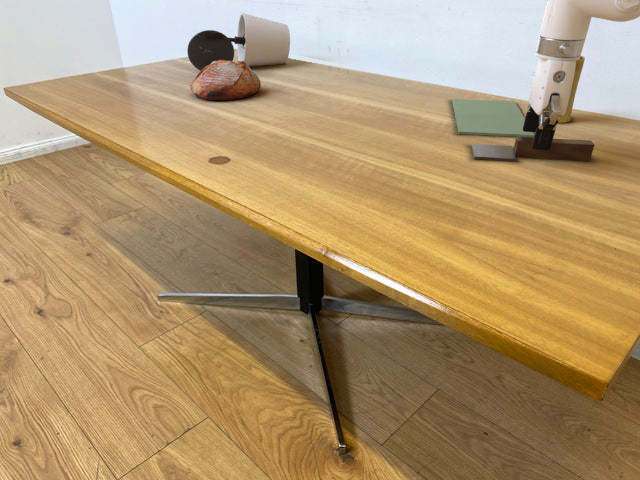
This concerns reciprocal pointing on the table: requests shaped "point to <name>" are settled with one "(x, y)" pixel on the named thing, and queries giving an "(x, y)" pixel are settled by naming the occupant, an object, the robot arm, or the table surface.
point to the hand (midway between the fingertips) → (535, 140)
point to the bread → (225, 81)
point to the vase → (572, 91)
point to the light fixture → (243, 44)
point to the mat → (489, 118)
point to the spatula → (535, 150)
